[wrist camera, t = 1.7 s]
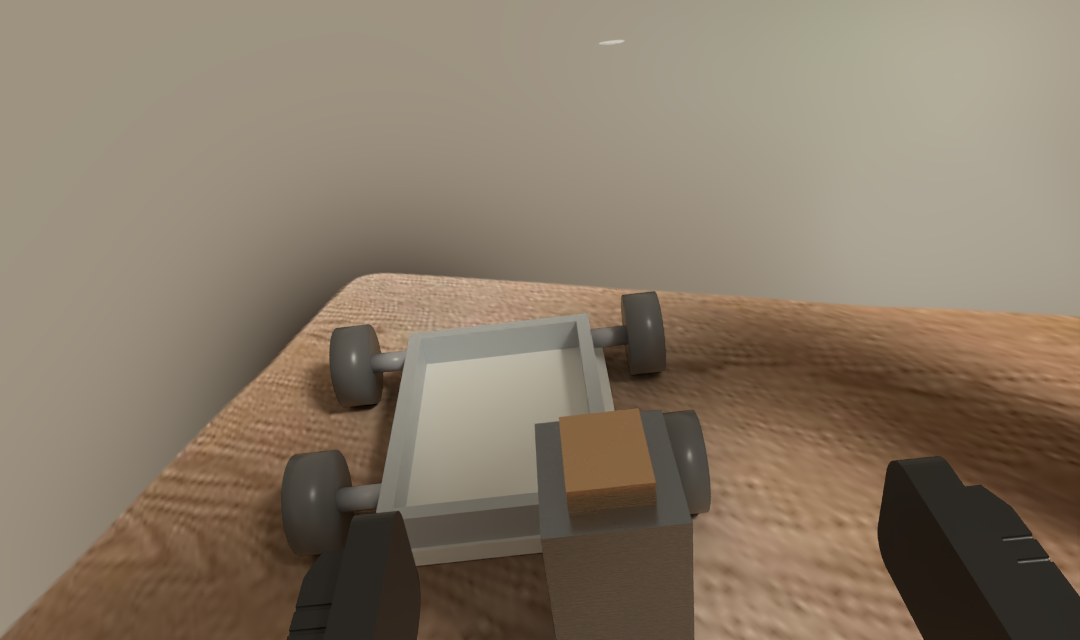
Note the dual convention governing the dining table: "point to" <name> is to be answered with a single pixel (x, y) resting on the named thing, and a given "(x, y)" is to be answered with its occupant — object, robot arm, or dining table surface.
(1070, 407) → the dining table surface
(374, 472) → the dining table surface
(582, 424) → the tall block with cap
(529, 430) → the chassis
